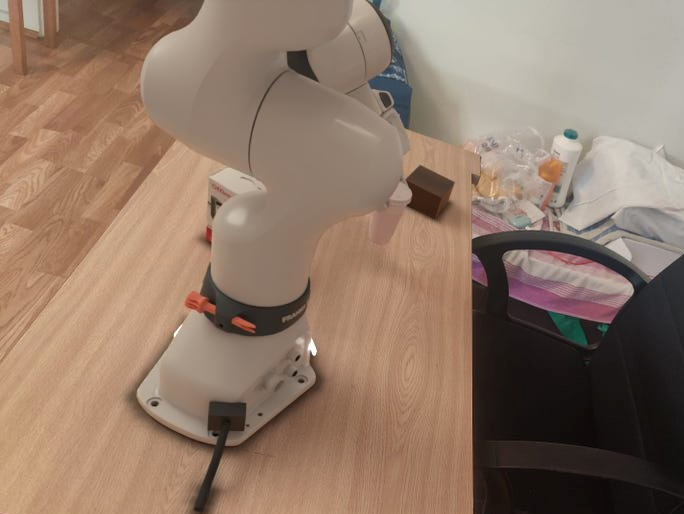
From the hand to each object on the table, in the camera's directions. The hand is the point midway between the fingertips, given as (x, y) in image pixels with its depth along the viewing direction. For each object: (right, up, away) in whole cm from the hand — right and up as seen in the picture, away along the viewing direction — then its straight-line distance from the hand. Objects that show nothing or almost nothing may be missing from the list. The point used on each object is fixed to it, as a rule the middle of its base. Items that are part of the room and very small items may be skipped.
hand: (393, 199), depth 96 cm
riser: (+2, +7, +26) cm, 27 cm away
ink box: (-25, -8, -1) cm, 26 cm away
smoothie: (-3, -5, +5) cm, 8 cm away
